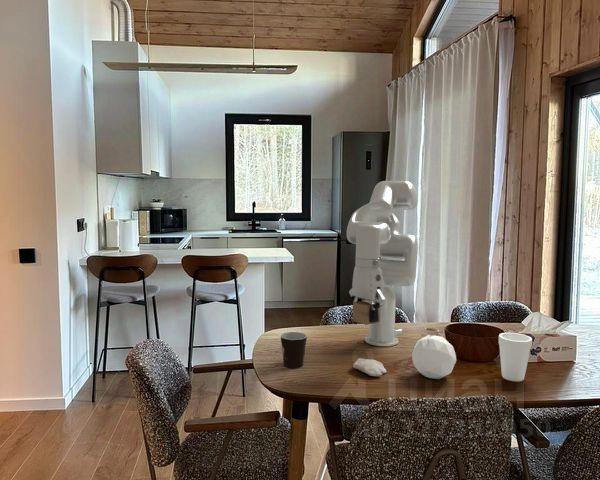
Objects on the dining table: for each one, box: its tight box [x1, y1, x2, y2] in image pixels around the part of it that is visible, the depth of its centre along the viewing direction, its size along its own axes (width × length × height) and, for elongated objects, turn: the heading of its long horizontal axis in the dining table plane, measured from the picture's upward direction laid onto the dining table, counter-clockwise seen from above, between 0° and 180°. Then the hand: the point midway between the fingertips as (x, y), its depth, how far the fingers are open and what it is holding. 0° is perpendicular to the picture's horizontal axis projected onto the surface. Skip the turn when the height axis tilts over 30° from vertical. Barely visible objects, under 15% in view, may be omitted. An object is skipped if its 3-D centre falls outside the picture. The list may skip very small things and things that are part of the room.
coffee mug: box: [280, 331, 308, 370], centre depth 166 cm, size 12×9×10 cm
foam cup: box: [497, 332, 533, 382], centre depth 155 cm, size 10×9×13 cm
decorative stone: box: [352, 357, 387, 377], centre depth 161 cm, size 11×4×15 cm
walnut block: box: [352, 299, 380, 326], centre depth 159 cm, size 6×6×6 cm
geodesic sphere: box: [411, 333, 457, 380], centre depth 155 cm, size 14×14×14 cm
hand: (366, 318), depth 159 cm, fingers closed on walnut block, 6 cm apart
